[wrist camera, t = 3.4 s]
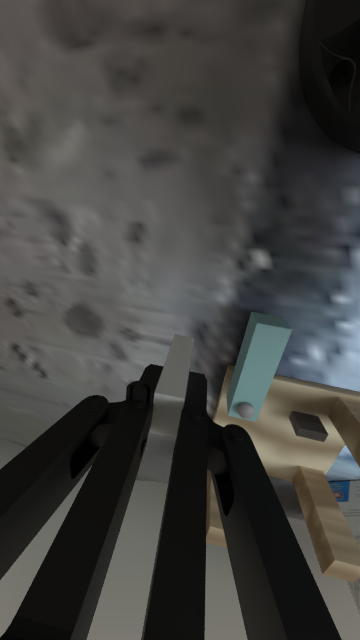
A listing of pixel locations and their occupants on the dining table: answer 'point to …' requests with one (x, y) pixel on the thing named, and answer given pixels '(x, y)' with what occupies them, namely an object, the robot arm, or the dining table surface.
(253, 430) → the stool seat
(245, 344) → the hinged leg
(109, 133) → the dining table surface
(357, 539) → the ink box
